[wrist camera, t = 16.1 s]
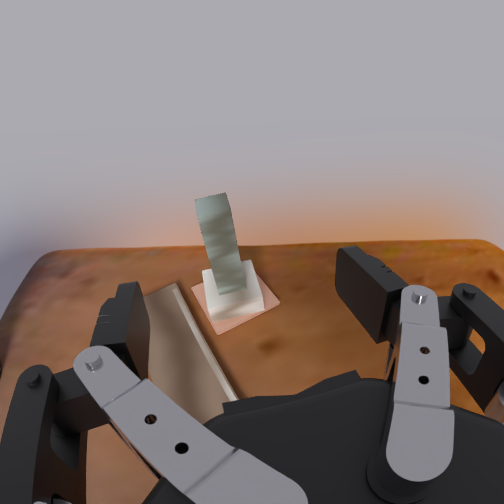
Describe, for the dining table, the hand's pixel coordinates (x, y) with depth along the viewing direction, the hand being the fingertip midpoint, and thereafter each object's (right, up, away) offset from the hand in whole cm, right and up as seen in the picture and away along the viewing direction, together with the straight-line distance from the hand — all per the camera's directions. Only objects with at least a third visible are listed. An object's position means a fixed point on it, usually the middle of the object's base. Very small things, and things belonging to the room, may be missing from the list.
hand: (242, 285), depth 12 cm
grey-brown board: (-7, -10, +19) cm, 23 cm away
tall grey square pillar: (-2, -4, +25) cm, 25 cm away
